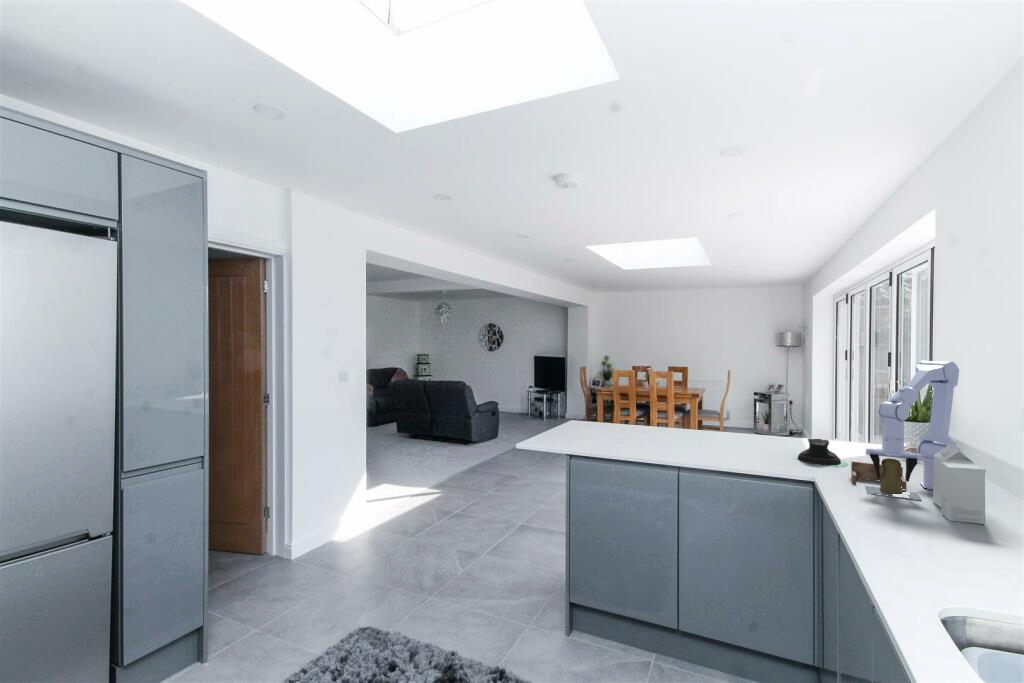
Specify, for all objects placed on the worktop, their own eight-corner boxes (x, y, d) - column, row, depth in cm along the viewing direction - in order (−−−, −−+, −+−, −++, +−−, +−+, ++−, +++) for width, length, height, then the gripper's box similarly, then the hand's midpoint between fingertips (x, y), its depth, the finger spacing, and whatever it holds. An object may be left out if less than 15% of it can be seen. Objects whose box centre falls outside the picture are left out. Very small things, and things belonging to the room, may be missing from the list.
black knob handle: (782, 456, 219) (783, 435, 219) (826, 456, 220) (826, 435, 220) (811, 467, 200) (812, 444, 200) (859, 467, 200) (859, 444, 200)
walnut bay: (902, 483, 177) (902, 466, 177) (906, 490, 168) (906, 473, 168) (851, 477, 185) (851, 461, 185) (852, 483, 176) (853, 466, 176)
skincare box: (976, 518, 143) (976, 464, 143) (986, 525, 137) (987, 469, 136) (939, 513, 146) (939, 460, 146) (948, 521, 140) (948, 466, 140)
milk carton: (960, 505, 154) (961, 444, 154) (973, 512, 147) (974, 448, 147) (932, 502, 156) (933, 442, 156) (944, 510, 149) (944, 447, 149)
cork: (906, 494, 163) (907, 461, 162) (887, 494, 163) (888, 460, 163) (893, 489, 169) (894, 456, 169) (875, 488, 169) (875, 456, 169)
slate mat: (917, 493, 165) (917, 492, 165) (921, 501, 157) (921, 499, 157) (865, 486, 172) (865, 485, 172) (867, 493, 165) (867, 492, 165)
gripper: (867, 437, 165) (866, 478, 165) (923, 442, 158) (922, 485, 158) (865, 434, 171) (865, 473, 171) (919, 439, 164) (918, 480, 164)
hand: (892, 479), depth 165 cm, fingers open, 7 cm apart
